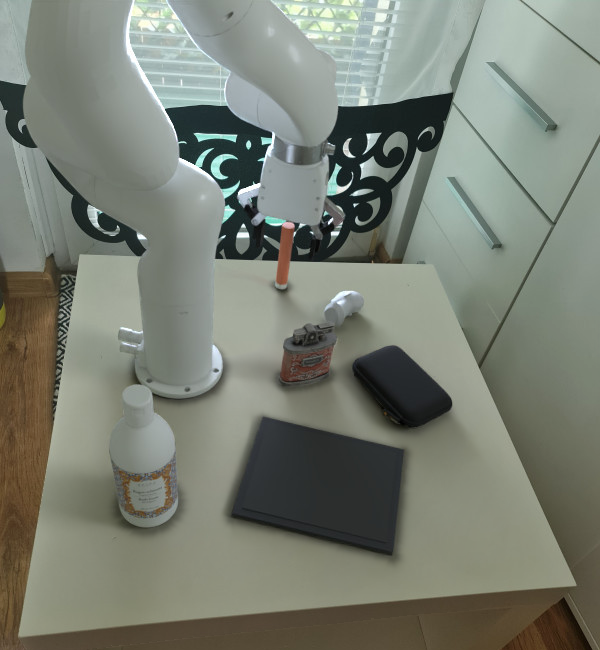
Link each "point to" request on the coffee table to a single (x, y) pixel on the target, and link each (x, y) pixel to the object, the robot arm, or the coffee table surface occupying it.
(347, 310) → the pale two-lobed sculpture
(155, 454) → the bath foam
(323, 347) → the lighter
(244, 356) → the coffee table surface
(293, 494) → the tablet
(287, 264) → the orange cylindrical rod
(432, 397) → the carrying case
